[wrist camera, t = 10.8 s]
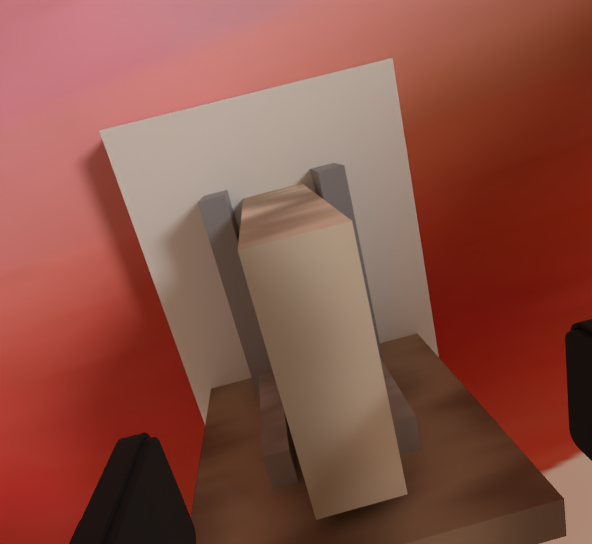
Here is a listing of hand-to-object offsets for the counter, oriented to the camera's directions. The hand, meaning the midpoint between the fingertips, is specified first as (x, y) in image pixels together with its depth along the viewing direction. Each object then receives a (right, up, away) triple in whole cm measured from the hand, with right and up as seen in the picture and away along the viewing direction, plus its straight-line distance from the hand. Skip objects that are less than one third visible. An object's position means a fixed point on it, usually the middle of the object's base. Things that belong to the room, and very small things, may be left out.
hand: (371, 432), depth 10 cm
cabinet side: (-1, -1, +15) cm, 15 cm away
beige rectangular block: (-2, +3, +13) cm, 14 cm away
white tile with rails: (-2, +4, +15) cm, 15 cm away
